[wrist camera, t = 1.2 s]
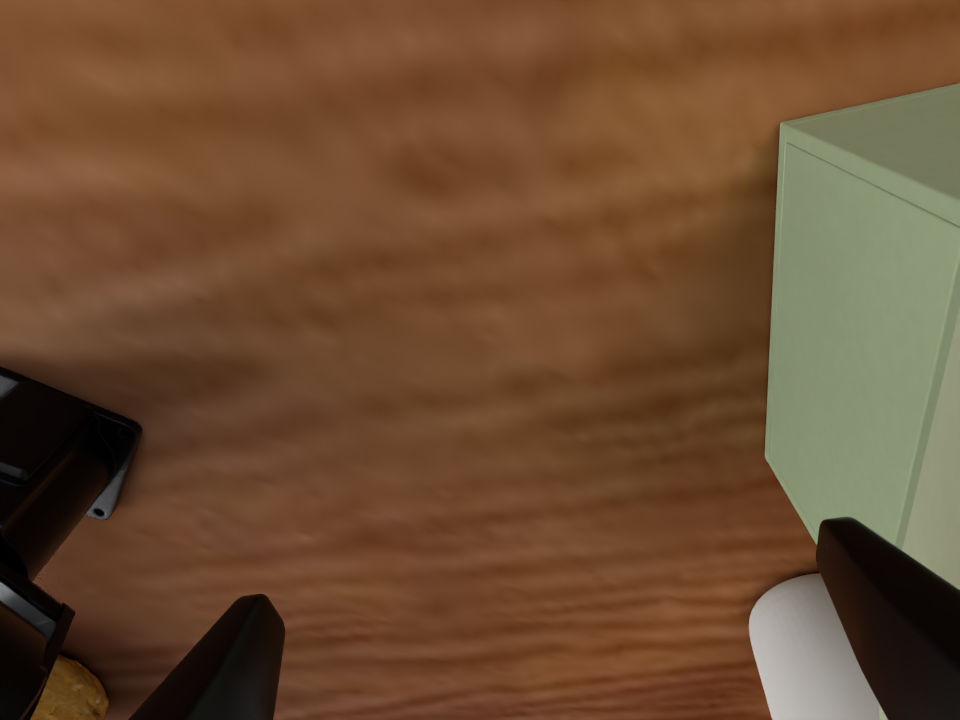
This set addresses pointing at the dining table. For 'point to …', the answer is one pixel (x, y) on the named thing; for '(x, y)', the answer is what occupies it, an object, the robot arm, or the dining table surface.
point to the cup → (807, 655)
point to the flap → (940, 484)
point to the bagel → (71, 694)
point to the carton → (862, 304)
